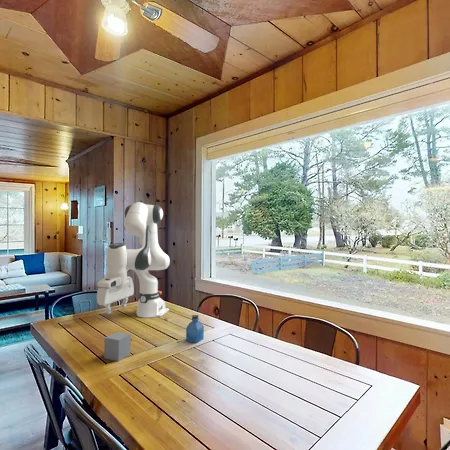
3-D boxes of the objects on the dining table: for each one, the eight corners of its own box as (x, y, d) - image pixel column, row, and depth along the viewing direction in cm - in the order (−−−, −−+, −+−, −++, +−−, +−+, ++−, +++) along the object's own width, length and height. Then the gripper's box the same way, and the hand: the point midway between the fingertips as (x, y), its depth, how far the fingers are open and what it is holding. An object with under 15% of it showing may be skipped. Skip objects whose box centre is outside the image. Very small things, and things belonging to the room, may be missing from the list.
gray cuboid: (116, 351, 136) (116, 331, 136) (130, 354, 133) (130, 334, 133) (104, 358, 129) (104, 337, 129) (118, 361, 126) (118, 340, 126)
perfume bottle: (186, 340, 150) (186, 316, 150) (193, 336, 155) (193, 313, 155) (196, 343, 147) (197, 318, 147) (203, 339, 152) (203, 315, 152)
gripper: (126, 274, 148) (126, 303, 148) (94, 283, 129) (94, 315, 129) (137, 276, 146) (136, 304, 146) (106, 284, 127) (106, 317, 127)
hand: (116, 309), depth 137 cm, fingers open, 8 cm apart
